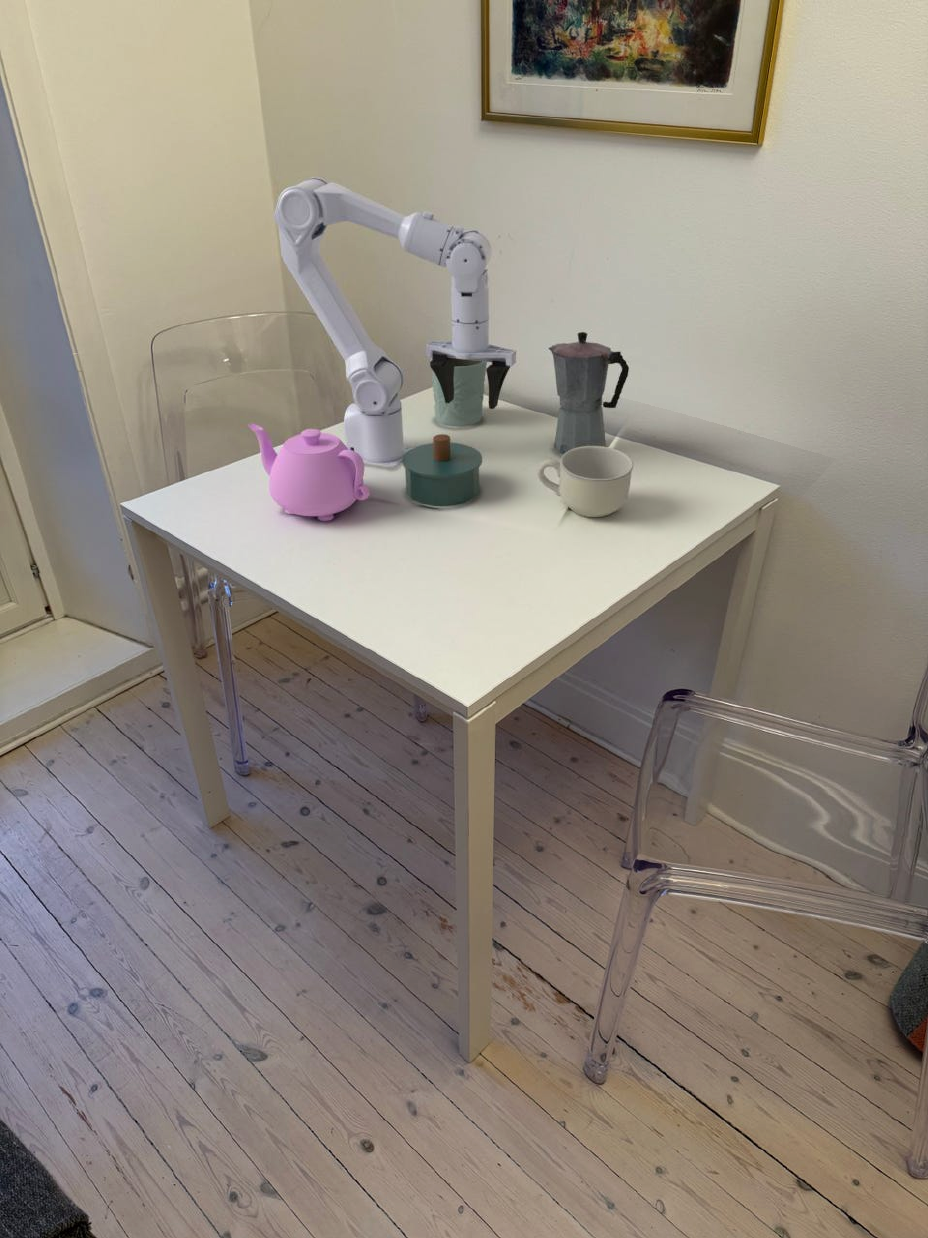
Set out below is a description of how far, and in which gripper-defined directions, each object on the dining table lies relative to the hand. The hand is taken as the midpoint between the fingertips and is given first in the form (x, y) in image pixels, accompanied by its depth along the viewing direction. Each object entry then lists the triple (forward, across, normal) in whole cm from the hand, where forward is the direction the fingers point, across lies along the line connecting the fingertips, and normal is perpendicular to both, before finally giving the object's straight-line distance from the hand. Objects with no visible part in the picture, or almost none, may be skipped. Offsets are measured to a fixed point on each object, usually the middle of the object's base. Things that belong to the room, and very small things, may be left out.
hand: (471, 403), depth 143 cm
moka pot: (+11, +16, +12) cm, 23 cm away
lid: (+5, 0, -12) cm, 13 cm away
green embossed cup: (+11, -9, +17) cm, 22 cm away
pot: (+10, 0, -12) cm, 16 cm away
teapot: (+10, -17, -23) cm, 31 cm away
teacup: (+11, +22, -9) cm, 26 cm away
